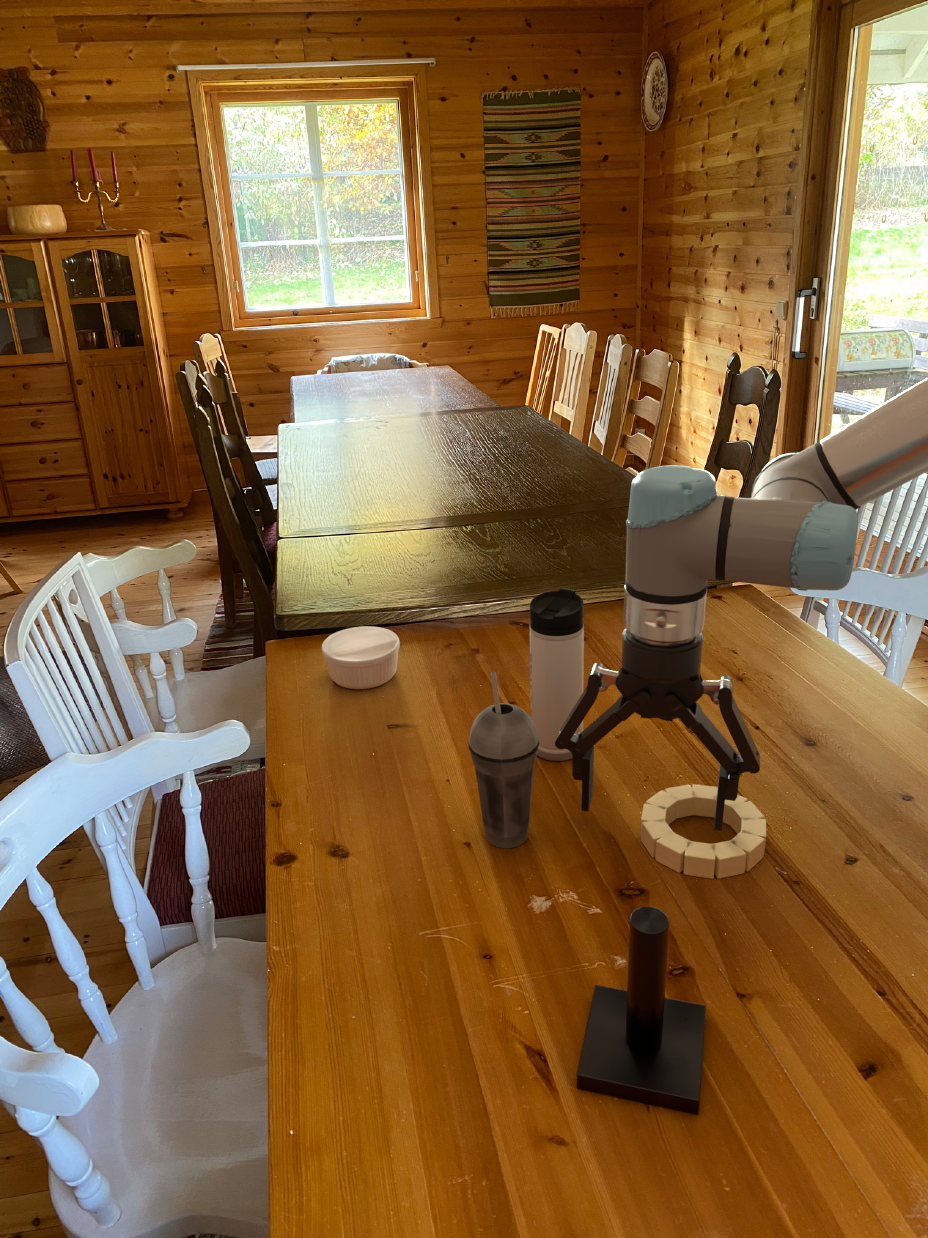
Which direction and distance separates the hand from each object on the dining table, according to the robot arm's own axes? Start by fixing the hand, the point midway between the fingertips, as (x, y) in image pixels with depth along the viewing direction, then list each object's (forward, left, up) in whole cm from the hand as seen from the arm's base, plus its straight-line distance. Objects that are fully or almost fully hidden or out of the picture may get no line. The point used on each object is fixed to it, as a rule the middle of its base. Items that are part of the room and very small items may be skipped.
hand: (651, 813), depth 96 cm
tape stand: (-2, +28, -2) cm, 28 cm away
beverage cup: (+15, +4, -3) cm, 15 cm away
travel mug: (+13, -14, -3) cm, 19 cm away
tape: (-5, 0, -2) cm, 6 cm away
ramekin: (+44, -27, -3) cm, 51 cm away
